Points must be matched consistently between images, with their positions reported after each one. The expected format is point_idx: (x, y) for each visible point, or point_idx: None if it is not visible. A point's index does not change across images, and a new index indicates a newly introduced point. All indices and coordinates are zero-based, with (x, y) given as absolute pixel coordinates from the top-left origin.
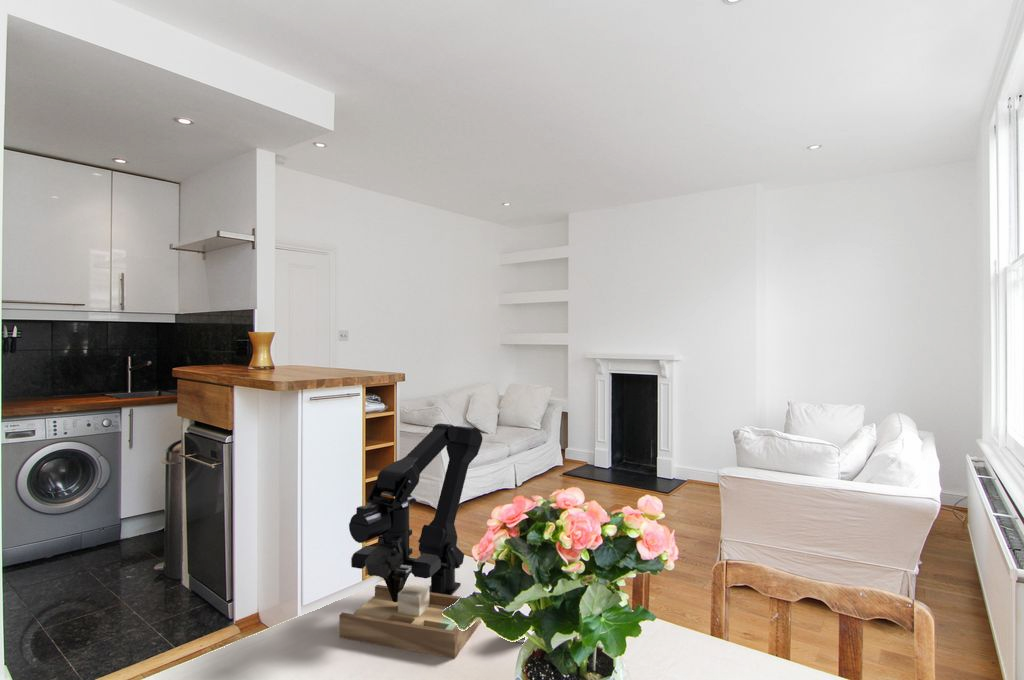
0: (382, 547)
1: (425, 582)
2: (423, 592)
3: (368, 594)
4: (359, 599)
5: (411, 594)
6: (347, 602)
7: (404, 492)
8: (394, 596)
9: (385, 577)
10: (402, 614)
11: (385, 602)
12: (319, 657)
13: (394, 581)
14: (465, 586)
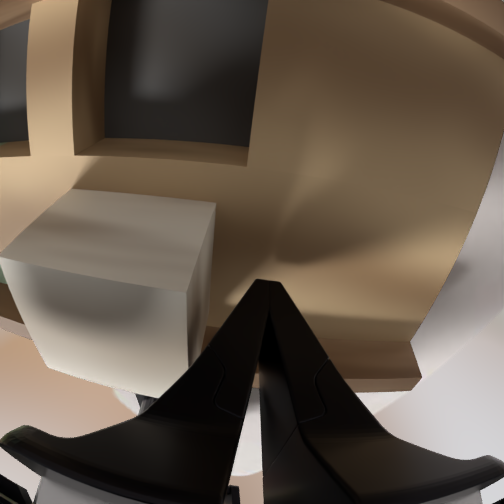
0: None
1: (256, 425)
2: (19, 311)
3: (425, 362)
4: (452, 334)
5: (59, 282)
6: (487, 311)
7: None
8: (262, 303)
9: (361, 448)
10: (173, 183)
11: (344, 299)
12: None
13: (237, 413)
14: (133, 409)
